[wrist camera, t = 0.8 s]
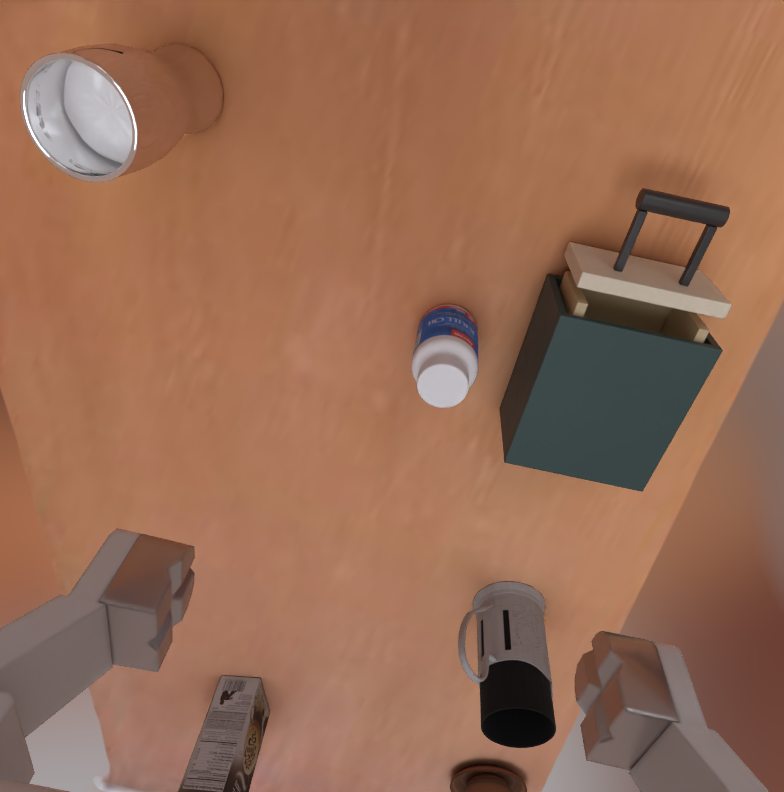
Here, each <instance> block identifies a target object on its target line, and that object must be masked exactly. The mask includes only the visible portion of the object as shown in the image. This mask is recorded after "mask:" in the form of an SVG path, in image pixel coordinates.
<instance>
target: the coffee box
mask: <svg viewBox="0 0 784 792" xmlns="http://www.w3.org/2000/svg"><path fill="white" fill-rule="evenodd" d="M269 714H270V710H269V707H268V703H267V700H266V696H265V693H264V689H263V686H262V682H261V679H260V678H250V677H235V676H221V677H220V680H219V683H218V686H217V688H216V691H215V694H214V696H213V699H212V702H211V705H210V707H209V710H208V712H207V715H206V718H205V720H204V723H203V726H202V728H201V731H200V734H199V736H198V739H197V742H196V745H195V747H194V750H193V753H192V755H191V758H190V761H189V763H188V766H187V769H186V772H185V774H184V777H183V780H182V782H181V785H180V788H179V790H178V792H249V788H250V784H251V780H252V777H253V773H254V770H255V766H256V762H257V758H258V755H259V751H260V748H261V744H262V740H263V736H264V733H265V729H266V725H267V721H268V718H269Z"/></svg>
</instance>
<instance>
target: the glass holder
mask: <svg viewBox="0 0 784 792" xmlns="http://www.w3.org/2000/svg"><path fill="white" fill-rule="evenodd" d="M473 609H474V610H472V611H470V612H468V613H467V614H466V616H465V617H464V619H463V621H462V624H461V627H460V631H459V641H458V649H459V657H460V661H461V664H462V667H463V669H464V671H465V672H466V674H467V675H468V677H469V678H470V679H471V680H472V681H474V682H476V683H479V687H480V702H481V729H482V732H483V733H484V735H485V736H486V737H487V738H488V739H490V740H491V741H493V742H495V743H497V744H500V745H504V746H508V747H514V748H528V747H534V746H538V745H541V744H544V743H546V742H547V741H549V740H550V739H551V738H552V737H553V736H554V734H555V732H556V725H555V717H554V710H553V702H552V681H551V673H550V666H549V658H548V650H547V643H546V635H545V627H544V620H543V614H544V611H545V600H544V598H543V596H542V595H541V594H540V593H539V592H538V591H537V590H536V589H534V588H532V587H531V586H528V585H526V584H522V583H518V582H499V583H494V584H491V585H488V586H486V587H485V588H483V589H482V590H480V591H479V592H478V593H477V594H476V596H475V598H474V600H473ZM474 614H476V616H477V642H478V676H477V675H476V674H475V673H474V672H473V671H472V669H471V668H470V665H469V663H468V661H467V657H466V652H465V633H466V629H467V624H468V622H469V620H470V618H471V617H472V615H474Z"/></svg>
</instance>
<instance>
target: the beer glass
mask: <svg viewBox="0 0 784 792" xmlns="http://www.w3.org/2000/svg"><path fill="white" fill-rule="evenodd" d="M222 106H223V88H222V84H221V81H220V78H219V75H218V73H217V71H216V70H215V68H214V66H213V65H212V64H211V62H210V61H209V60H208V59H207V58H206V57H205V56H204V55H203V54H202V53H200V52H199V51H197V50H196V49H194V48H192V47H190V46H187V45H183V44H168V45H164V46H162V47H160V48H158V49H156V50H155V51H154V52H149V51H146V50H143V49H139V48H136V47H132V46H126V45H120V44H93V45H87V46H81V47H77V48H73V49H69V50H66V51H63V52H60V53H53V54H49V55H46V56H44V57H42V58H40V59H38V60H37V61H36V62H34V63H33V64H32V65H31V67H30V68H29V69H28V71H27V72H26V74H25V76H24V78H23V81H22V85H21V90H20V107H21V113H22V117H23V121H24V124H25V126H26V129H27V131H28V133H29V135H30V137H31V139H32V141H33V142H34V144H35V145H36V147H37V148H38V149H39V151H40V152H41V153H42V154H43V155H44V156H45V158H46V159H47V160H48V161H49V162H51V163H52V164H53V165H54V166H55V167H57V168H58V169H59V170H61V171H62V172H64V173H66V174H68V175H69V176H72V177H74V178H76V179H79V180H83V181H87V182H106V181H110V180H113V179H115V178H117V177H120V176H124V175H127V174H130V173H133V172H136V171H139V170H141V169H144V168H146V167H148V166H150V165H152V164H153V163H155V162H157V161H158V160H160V159H162V158H163V157H164V156H165V155H167V154H168V153H169V152H170V151H171V150H172V149H173V148H174V147H175V146H176V145H177V143H178V142H179V141H180V140H181V139H182V137H183V136H184V135H185V134H197V133H200V132H203V131H205V130H207V129H209V128H210V127H211V126H212V125H213V124H214V123H215V122H216V121H217V119H218V117H219V115H220V113H221V110H222Z"/></svg>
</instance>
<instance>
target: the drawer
mask: <svg viewBox="0 0 784 792" xmlns="http://www.w3.org/2000/svg"><path fill="white" fill-rule="evenodd" d="M635 207H636V209H637V211H636V214H635V216H634V218H633V221H632V223H631V226H630V228H629V230H628V233H627V235H626V238H625V240H624V243H623V245H622V247H621V250H620V252H619V253H618V252H613V251H608V250H604V249H599V248H595V247H590V246H586V245H581V244H577V243H572V242H569V243H568V246H567V249H566V252H565V254H564V256H565V259H566V261H567V264H568V266H569V269H570V271H571V272H569V271H565V274H564V276H563V279H562V282H561V284H560V287H559V291H560V294H561V297H562V300H563V303H564V306H565V309H566V312H567V314H571V315H576V316H580V317H585V318H590V319H594V320H599V321H603V322H608V323H613V324H617V325H622V326H627V327H631V328H636V329H640V330H645V331H650V332H654V333H659V334H663V335H668V336H673V337H677V338H682V339H686V340H691V341H696V342H700V343H703V342H704V341H705V339H706V337H707V335H708V333H709V329H708V328H707V327H706V326H705V324H704V323H703V322H702V320H701V319H700V318H699V316H698V315H697V314H696V313H698V314H702V315H707V316H712V317H716V318H721V319H725V317H726V315H727V314H728V312H729V310H730V308H731V306H732V304H731V303H730V302H729V301H728V300H727V299H726V297H725V296H724V295H723V294H722V293H721V292H720V291H719V290H718V289H717V287H716V286H715V285H714V284H713V283H712V282H711V281H710V280H709V279H708V278H707V276H706V275H705V274H704V273H703V272H702V271H699V270H697V268H698V266H699V264H700V262H701V260H702V258H703V256H704V254H705V252H706V250H707V248H708V246H709V244H710V242H711V240H712V238H713V236H714V234H715V232H716V230H717V227H722V226H724V225H725V223H726V222H727V220H728V218H729V214H730V209H729V207H726V206H722V205H717V204H713V203H708V202H704V201H699V200H695V199H690V198H686V197H681V196H677V195H672V194H668V193H663V192H659V191H654V190H650V189H645V188H643V189H642V190H641V191H640V192H639V194H638V197H637V199H636V205H635ZM647 211H648V212H652V213H657V214H661V215H666V216H670V217H675V218H679V219H684V220H688V221H693V222H697V223H702V224H706V226H705V228H704V230H703V233H702V235H701V237H700V239H699V241H698V243H697V245H696V247H695V249H694V251H693V253H692V255H691V257H690V259H689V261H688V263H687V265H686V267H681V266H677V265H672V264H668V263H663V262H658V261H654V260H649V259H645V258H640V257H636V256H631V255H630V253H631V250H632V248H633V246H634V243H635V241H636V239H637V236H638V234H639V232H640V229H641V227H642V225H643V222H644V220H645V218H646V215H647Z"/></svg>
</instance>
